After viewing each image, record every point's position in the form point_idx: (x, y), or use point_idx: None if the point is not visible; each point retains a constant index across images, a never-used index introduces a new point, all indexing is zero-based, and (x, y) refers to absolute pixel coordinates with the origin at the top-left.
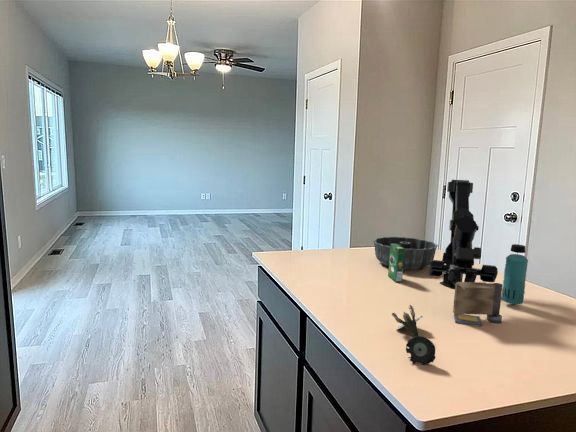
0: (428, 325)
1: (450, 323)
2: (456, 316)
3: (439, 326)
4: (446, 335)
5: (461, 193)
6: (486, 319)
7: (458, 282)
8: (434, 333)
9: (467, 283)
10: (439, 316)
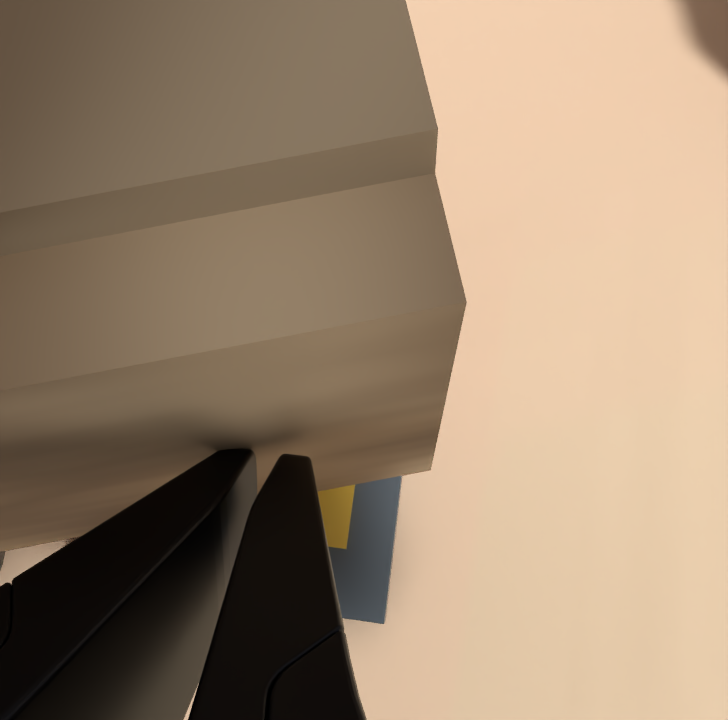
0: (721, 218)
1: (472, 332)
2: (376, 493)
3: (603, 221)
4: (553, 39)
5: None
6: (1, 565)
7: (416, 65)
8: (663, 52)
9: (128, 44)
10: (581, 530)
